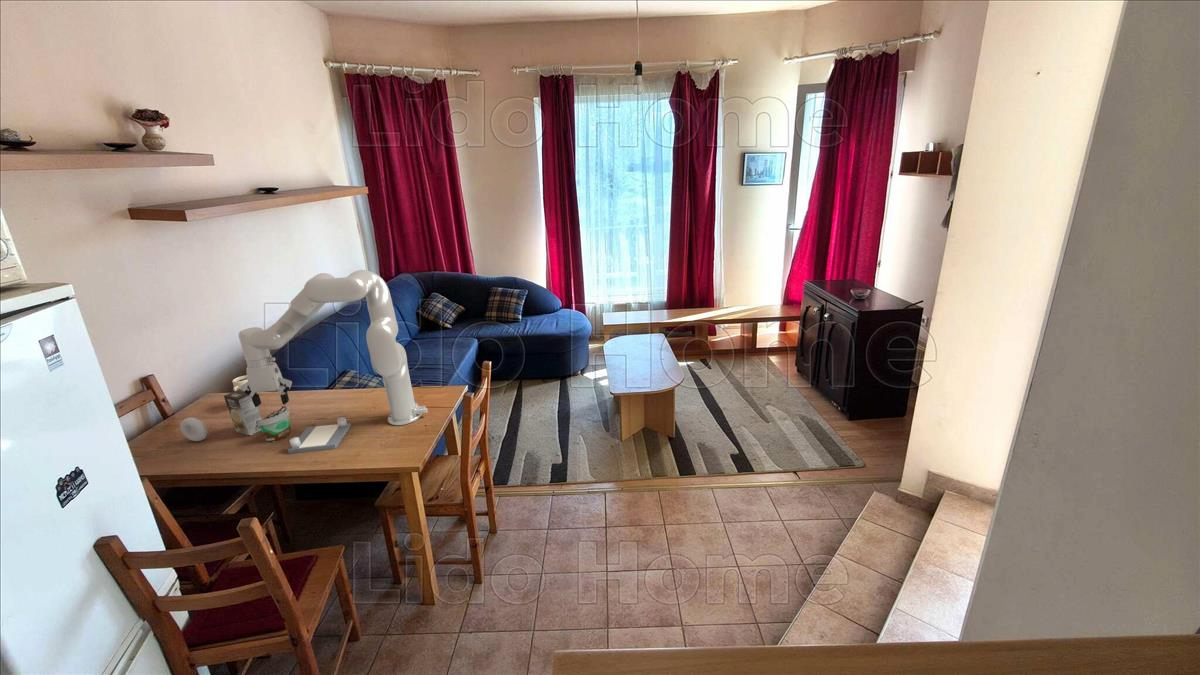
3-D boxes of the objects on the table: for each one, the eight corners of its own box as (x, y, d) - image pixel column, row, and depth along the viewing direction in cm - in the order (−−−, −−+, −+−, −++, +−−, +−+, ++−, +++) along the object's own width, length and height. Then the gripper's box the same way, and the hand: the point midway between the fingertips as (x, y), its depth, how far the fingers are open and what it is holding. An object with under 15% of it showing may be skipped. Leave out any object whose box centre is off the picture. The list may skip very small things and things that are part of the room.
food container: (278, 445, 182) (270, 421, 179) (264, 444, 183) (255, 420, 180) (303, 428, 194) (296, 405, 190) (289, 427, 195) (282, 404, 191)
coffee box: (235, 432, 194) (222, 395, 188) (251, 424, 199) (239, 388, 194) (249, 436, 190) (236, 399, 184) (266, 428, 195) (254, 391, 190)
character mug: (249, 411, 210) (239, 383, 206) (234, 411, 211) (224, 384, 207) (267, 399, 220) (259, 373, 216) (253, 399, 221) (244, 373, 217)
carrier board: (351, 426, 193) (348, 415, 191) (335, 448, 178) (332, 437, 176) (308, 430, 191) (305, 420, 190) (289, 453, 176) (285, 442, 175)
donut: (183, 442, 188) (173, 419, 185) (191, 437, 192) (182, 415, 188) (205, 443, 187) (196, 420, 183) (213, 439, 190) (204, 416, 186)
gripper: (289, 355, 182) (301, 397, 188) (239, 359, 180) (252, 401, 186) (280, 363, 175) (292, 406, 181) (227, 367, 173) (241, 411, 179)
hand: (272, 404), depth 184 cm, fingers open, 9 cm apart
